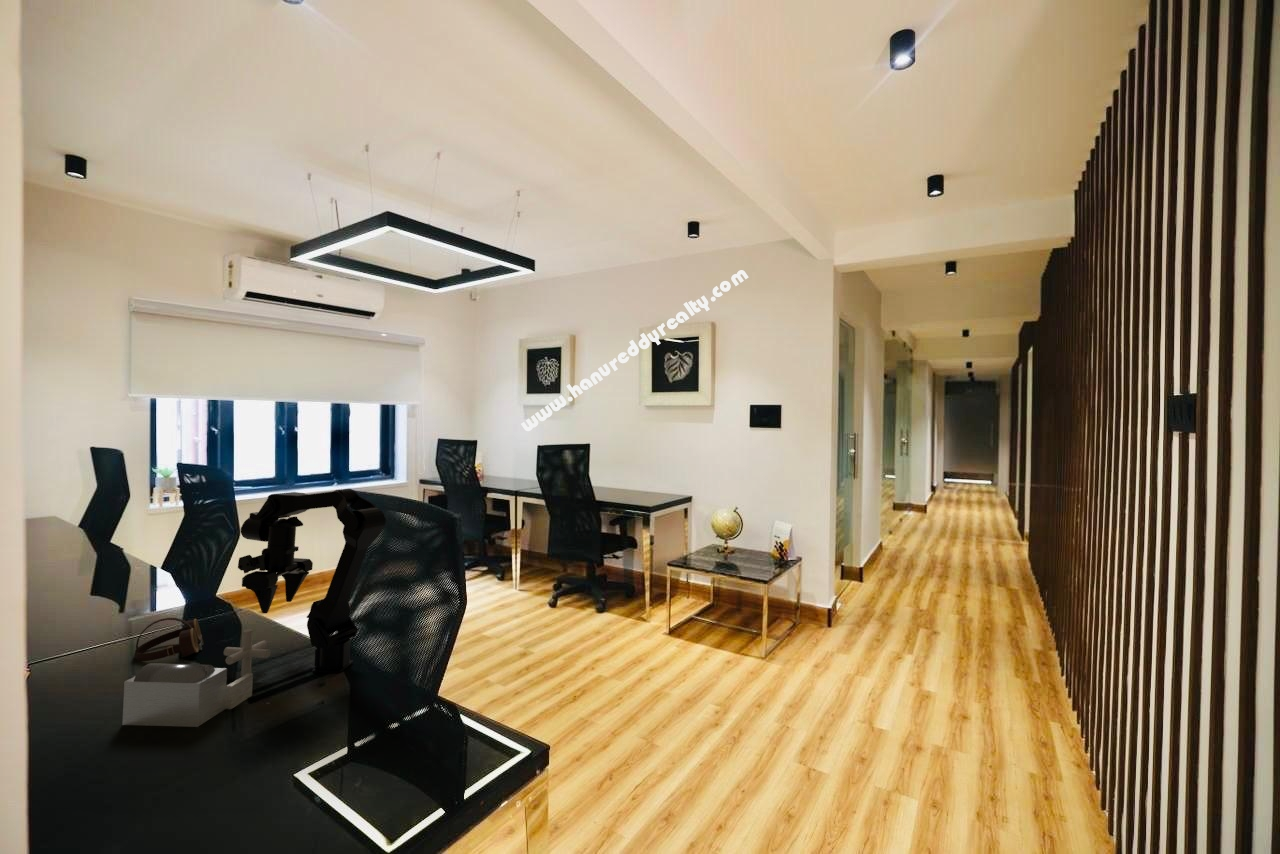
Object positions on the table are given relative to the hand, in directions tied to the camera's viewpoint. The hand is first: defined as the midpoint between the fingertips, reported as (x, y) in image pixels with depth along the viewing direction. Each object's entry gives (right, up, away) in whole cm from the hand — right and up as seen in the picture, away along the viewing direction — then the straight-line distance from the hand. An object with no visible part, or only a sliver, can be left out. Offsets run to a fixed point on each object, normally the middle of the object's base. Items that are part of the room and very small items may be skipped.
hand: (277, 607), depth 138 cm
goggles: (-27, -12, +1) cm, 30 cm away
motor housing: (0, -11, -27) cm, 30 cm away
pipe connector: (0, -12, -11) cm, 16 cm away
